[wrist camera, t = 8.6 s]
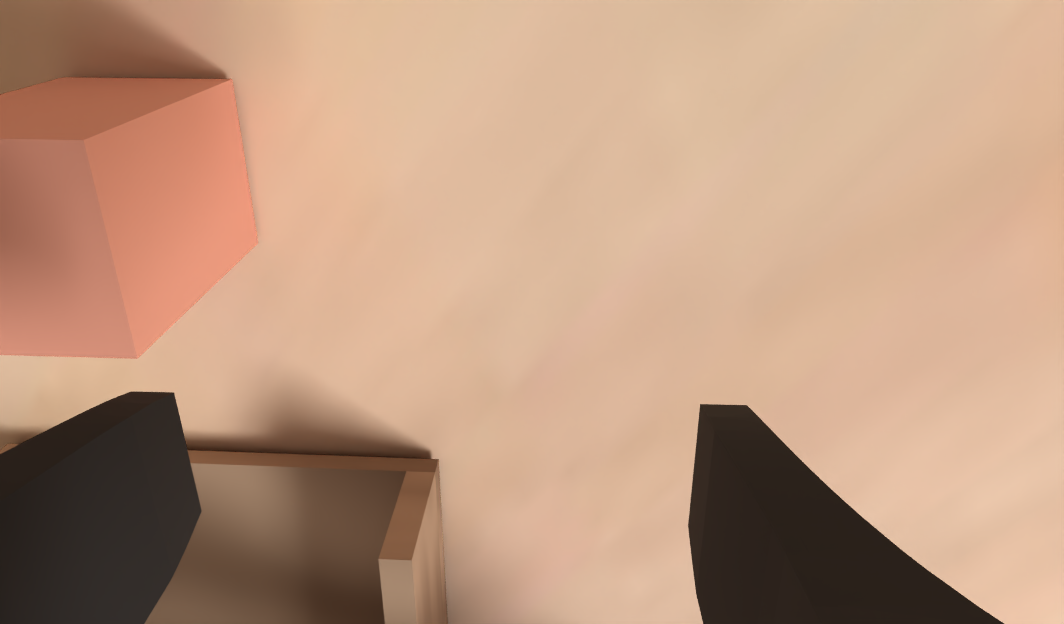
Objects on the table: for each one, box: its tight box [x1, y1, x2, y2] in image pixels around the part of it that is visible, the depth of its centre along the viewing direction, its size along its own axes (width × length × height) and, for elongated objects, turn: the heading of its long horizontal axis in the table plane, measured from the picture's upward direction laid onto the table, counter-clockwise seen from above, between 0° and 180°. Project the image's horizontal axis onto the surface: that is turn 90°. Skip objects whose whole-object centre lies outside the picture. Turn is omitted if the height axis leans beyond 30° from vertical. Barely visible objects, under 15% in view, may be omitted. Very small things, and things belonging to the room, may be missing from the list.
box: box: [0, 444, 448, 624], centre depth 23 cm, size 9×13×4 cm
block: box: [0, 77, 258, 359], centre depth 16 cm, size 4×4×6 cm
